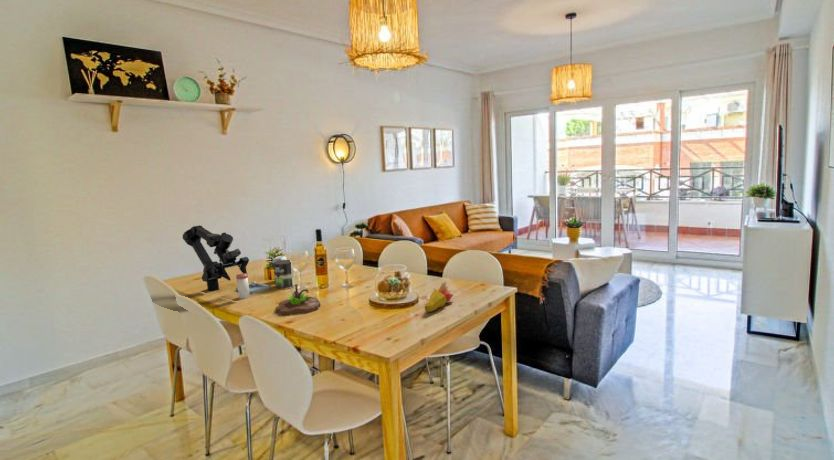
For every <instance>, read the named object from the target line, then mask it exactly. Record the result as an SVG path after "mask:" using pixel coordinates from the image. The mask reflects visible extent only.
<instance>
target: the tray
mask: <svg viewBox="0 0 834 460" xmlns="http://www.w3.org/2000/svg"><path fill="white" fill-rule="evenodd" d="M248 284H249V293H250V295H253V294H256V293H260V292H264V291H267V290H270V289H272V286H271V285H269V284H265V283H259V282H257V285H256V286H255V287H253V286H252V285H251V283H248ZM235 291H237V292H238V286H237V287H235Z"/></svg>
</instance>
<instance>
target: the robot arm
mask: <svg viewBox="0 0 834 460" xmlns="http://www.w3.org/2000/svg"><path fill="white" fill-rule="evenodd" d="M233 237H234V236H232V235H231V234H228V233H227V232H221V234H219V233H212V232H211V231H209V230H208V229H206V228H205V227H203V225H193V226H191V228H189V229H188V230H186V231H184V232H183V234H182V240H183V241H184V242H185V243H186V245H188V246H190V247H192V248H193V250H194V252H195V254H196V256H197V257H198V259H199V260H200V262H201V264H202V265H203V270H202V271H203V273H202V276H201V280H202V282H206V288H207V291H208V292H216V291H218V290H220V285H219V279H221V280H222V278H223V279H225V280H227V281H229V282H230V281H231V276H230V275H229V274H228V273H227V270H226V269H227V268H228V269H229V268H232V267H238V268H239V271H240V272H241V274H243V273H246V274H248V272H247V266H248V264H249V262H250V259H249V257H248V256H244V257H240V258H239V260H238V261H237V257H239V256H240V255H241V254H242V253H241V250H240V249H239V248H235V249H234V250H229V249H230V248H231V245H232V243H233V241H234V238H233ZM202 239H203V240H204V241H205V242H206V245H207V246H208V247H210V248H214V249H213V250H214V251H213V254H214V255H217V258H218V259H219V260H218V261H219V262H218V261H217V260H216V261H213V260H212V258H211V257H210V255H209V253H208V252H207V250H206V249H205V247H204V245H203V243H202V242H201V240H202Z"/></svg>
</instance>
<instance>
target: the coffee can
mask: <svg viewBox="0 0 834 460" xmlns="http://www.w3.org/2000/svg"><path fill="white" fill-rule="evenodd" d="M290 260H291V259H287V260H280V261H276V262H274V263H273V262H272V266H274V267H273V273H274V274H273V276H274V286H275V288H276V289H283V290H284V291H285V290H290V289H293V288H296V287H295V276H294V268H293V269H292V268H291V262H290Z"/></svg>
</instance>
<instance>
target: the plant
mask: <svg viewBox="0 0 834 460" xmlns="http://www.w3.org/2000/svg"><path fill="white" fill-rule="evenodd" d="M294 286H295V287H294V288H295V290H294V291H293V293H292V295H289V294H288V295H287V297H288V298H287V299H284V300H282V301H280V302H279V303H278V306H276V307H275V311H276V313H277V314H279V315H280V314H281V315H280V316H291V315H290V314H293V315H299V314H298V313H300V314H309V313H313V312H316V311H318V310H319V308H321V306H322V305H321V302H320V300H319V298H318V297H315V296H314V297H312V296H310V295H309V293H310V290H309V289H307V288H306V289H302V290H301V291H300V292H299V290H298V287H299V285H298V283H294ZM303 292H306V294H307V295H305V293H303Z"/></svg>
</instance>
